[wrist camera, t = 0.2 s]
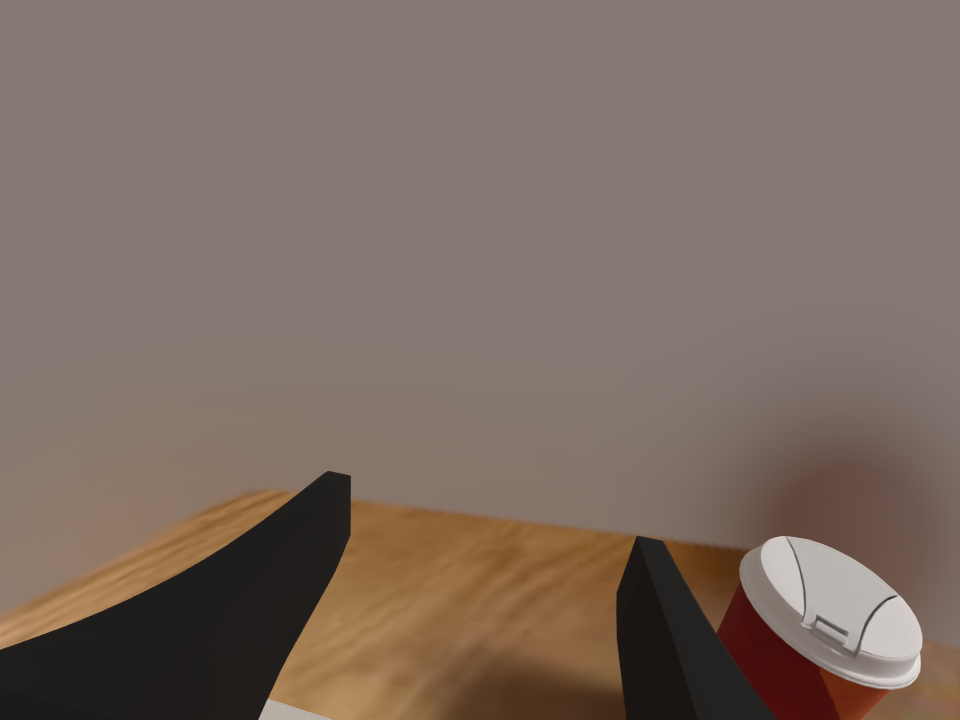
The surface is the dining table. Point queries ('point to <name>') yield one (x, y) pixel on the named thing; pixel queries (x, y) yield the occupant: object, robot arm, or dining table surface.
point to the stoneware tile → (286, 712)
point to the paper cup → (818, 632)
